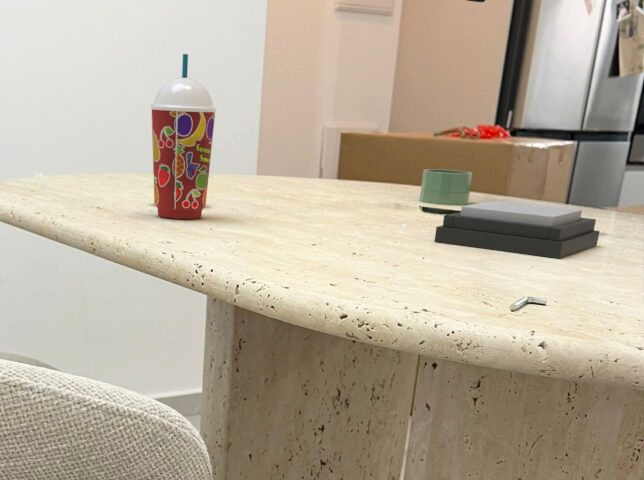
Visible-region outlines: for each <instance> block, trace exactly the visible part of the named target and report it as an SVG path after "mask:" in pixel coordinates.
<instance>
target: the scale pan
mask: <svg viewBox="0 0 644 480" xmlns="http://www.w3.org/2000/svg"><path fill="white" fill-rule="evenodd" d="M460 211H461V215H460V216H467V217H475V218H484V219H492V220H501V221H510V222H518V223H527V224H535V225H544V226H552V227H555V226H559V225H563V224H566V223H570V222H574V221H578V220H580V219H581V218H582V213H583V210H582V209H577V208H576V209H575V208H566V207H559V206H557V207H556V206H547V205H538V204H529V203H521V202H509V201H500V200H492V201H485V202H480V203H474V204H473V203H472V204H468V205H461V208H460Z"/></svg>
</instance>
